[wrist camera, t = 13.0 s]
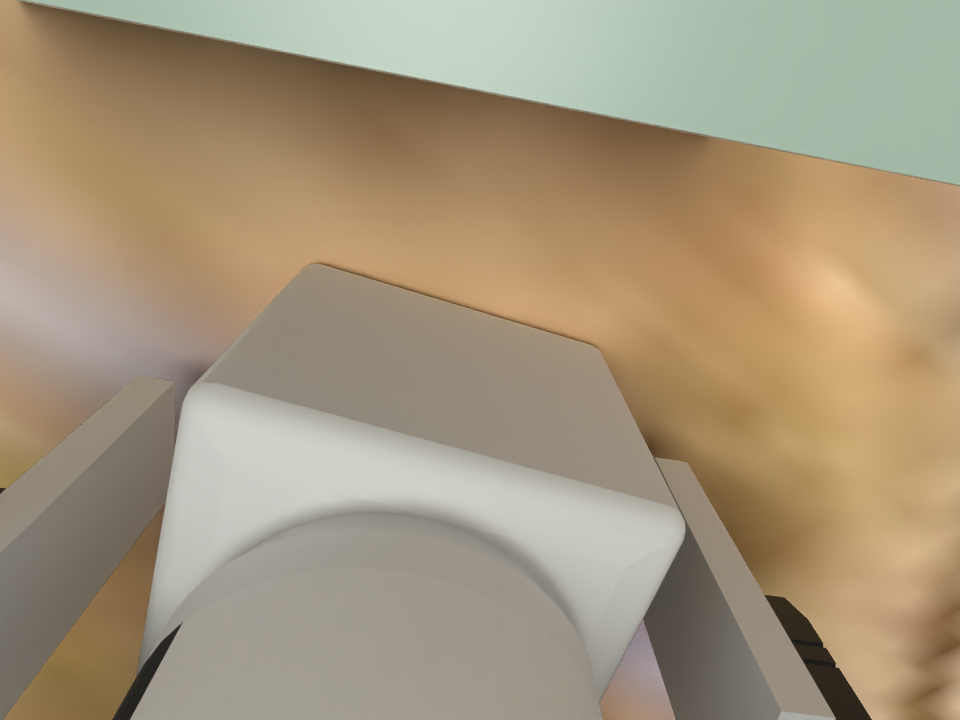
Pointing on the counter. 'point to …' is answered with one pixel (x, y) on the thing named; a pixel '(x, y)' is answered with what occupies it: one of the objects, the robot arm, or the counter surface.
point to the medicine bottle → (400, 520)
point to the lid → (647, 61)
